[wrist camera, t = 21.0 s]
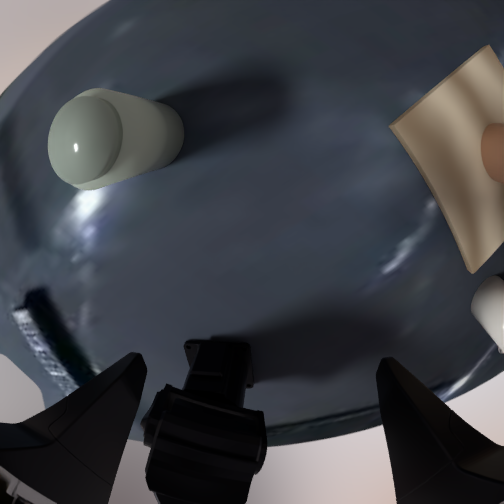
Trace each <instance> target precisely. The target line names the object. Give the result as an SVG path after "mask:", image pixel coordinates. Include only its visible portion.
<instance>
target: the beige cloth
mask: <svg viewBox="0 0 504 504" xmlns="http://www.w3.org/2000/svg"><path fill="white" fill-rule="evenodd" d="M491 123H504V68H503V66H502V65H501V63H500V61H499V60H498V58H497V56H496V55H495V53H494V52H493V50H492V48H491V47H490V45H487V46H484V47H482V48H481V49H480V50H479V51H477V52H476V53H475V54H474V55H473V56H471V57H470V58H469V59H468V60H466V61H465V62H464V63H463V64H462V65H460V66H459V67H458V68H457V69H456V70H454V71H453V72H452V73H451V74H450V75H448V76H447V77H446V78H445V79H444V80H442V81H441V82H440V83H439V84H438V85H436V86H435V87H434V88H433V89H432V90H430V91H429V92H428V93H427V94H426V95H424V96H423V97H422V98H421V99H420V100H419V101H417V102H416V103H415V104H414V105H413V106H411V107H410V108H409V109H408V110H407V111H405V112H404V113H403V114H402V115H401V116H400V117H398V118H397V119H396V120H395V121H394V122H392V123H391V124H390V125H389V127H390V129H391V130H392V131H393V133H394V134H395V136H396V137H397V138H398V140H399V141H400V143H401V144H402V146H403V147H404V148H405V150H406V151H407V153H408V154H409V156H410V157H411V159H412V161H413V162H414V164H415V165H416V167H417V168H418V170H419V172H420V173H421V175H422V177H423V178H424V180H425V182H426V183H427V185H428V187H429V189H430V190H431V192H432V194H433V196H434V198H435V200H436V201H437V203H438V205H439V207H440V209H441V211H442V213H443V215H444V217H445V219H446V221H447V223H448V225H449V227H450V229H451V232H452V234H453V236H454V238H455V240H456V243H457V245H458V247H459V250H460V252H461V254H462V257H463V259H464V262H465V265H466V267H467V270H468V271H469V272H471V273H472V274H474V273H475V272H476V271H477V270H478V269H479V268H480V267H481V265H482V264H483V263H484V262H485V261H486V260H487V259H488V258H489V257H490V256H491V255H492V254H493V253H494V252H495V251H496V249H497V248H498V247H499V246H500V245H501V244H502V243H503V241H504V184H503V183H500V182H496V181H494V180H493V179H492V178H491V177H490V176H489V175H488V173H487V172H486V170H485V167H484V165H483V161H482V157H481V139H482V135H483V132H484V130H485V128H486V127H487V126H488V125H489V124H491Z"/></svg>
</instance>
